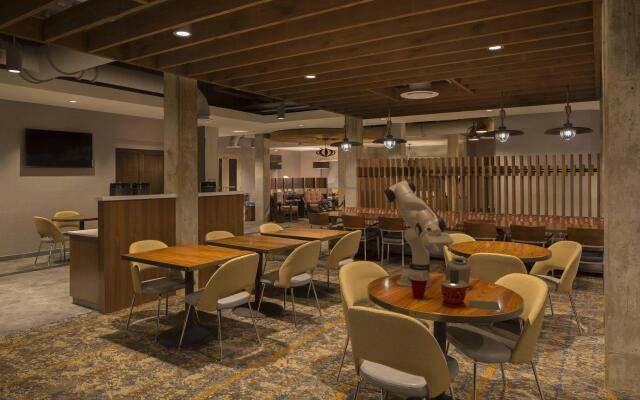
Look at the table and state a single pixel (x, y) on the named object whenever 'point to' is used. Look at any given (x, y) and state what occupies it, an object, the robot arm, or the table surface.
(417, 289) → the plastic cup
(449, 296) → the plant pot
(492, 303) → the mat
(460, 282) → the lid
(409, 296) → the table surface
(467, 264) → the jar
